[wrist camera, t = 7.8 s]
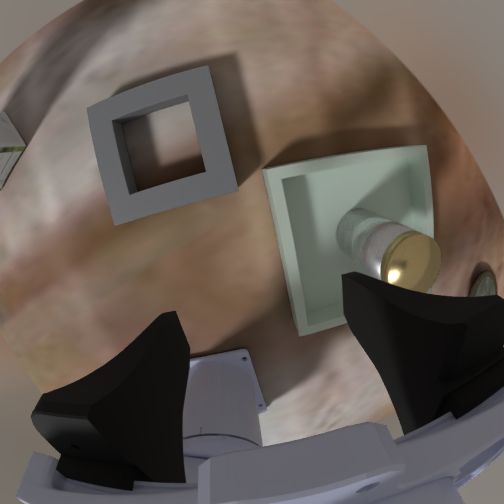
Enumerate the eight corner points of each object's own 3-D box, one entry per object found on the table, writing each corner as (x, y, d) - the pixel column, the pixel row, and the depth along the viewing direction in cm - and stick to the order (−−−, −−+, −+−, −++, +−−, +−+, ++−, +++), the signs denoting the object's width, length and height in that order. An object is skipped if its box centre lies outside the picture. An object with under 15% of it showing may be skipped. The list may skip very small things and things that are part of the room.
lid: (432, 318, 26) (458, 341, 21) (481, 251, 24) (510, 266, 19) (458, 350, 29) (478, 370, 24) (499, 295, 27) (522, 310, 22)
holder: (237, 188, 20) (238, 190, 18) (124, 220, 20) (115, 226, 18) (210, 73, 17) (208, 65, 15) (98, 111, 17) (86, 108, 15)
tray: (417, 281, 24) (431, 292, 22) (293, 320, 24) (299, 337, 22) (408, 145, 20) (426, 145, 17) (261, 168, 20) (266, 169, 17)
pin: (381, 248, 22) (440, 287, 14) (340, 262, 22) (390, 311, 14) (375, 202, 21) (440, 227, 13) (331, 215, 21) (386, 247, 13)
